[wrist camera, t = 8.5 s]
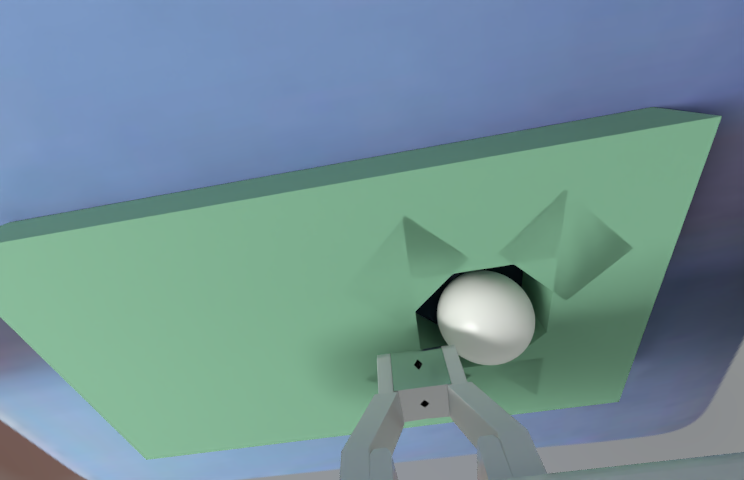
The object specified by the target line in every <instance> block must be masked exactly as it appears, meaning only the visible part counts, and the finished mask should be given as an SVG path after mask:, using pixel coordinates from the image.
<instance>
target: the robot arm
mask: <svg viewBox="0 0 744 480" xmlns="http://www.w3.org/2000/svg"><path fill="white" fill-rule="evenodd" d="M377 373H378V394H375V395H374V396H373V398H372V400H371V402H370V403H369V405H368V407H367V408H366V410H365V412H364V414H363V415H362V417H361V419H360V420H359V422H358V424H357V426H356V427H355V429H354V431H353V432H352V434H351V436H350V438H349V439H348V441H347V443H346V444H345V446H344V448H343V450H342V451H341V466H340V480H398V478H397V474H396V470H395V466H394V462H393V458H392V454H393V452H394V449H395V447H396V444H397V442H398V439H399V437H400V434H401V432H402V429H403V427H404V422H409V421H416V420H422V419H430V418H441V417H450V418H451V419H452V420H453V422H454V423H455V424H456V425H457V426H458V427H459V429H460V430H461V431H462V432H463V433H464V434H465V436H466V437H467V438H468V439H469V440H470V442H471V443H472V444H473V445H474V446H475V447H476V449H477V479H478V480H744V452H741V453H732V454H723V455H713V456H704V457H695V458H687V459H677V460H669V461H660V462H650V463H641V464H632V465H624V466H615V467H605V468H596V469H587V470H578V471H569V472H560V473H551V474H547V472H546V470H545V467H544V465H543V463H542V461H541V459H540V457H539V455H538V453H537V450H536V448H535V446H534V443H533V441H532V439H531V437H530V435H529V432H528V430H527V429H526V428H525V427H524V426H522V425H521V424H520V423H519V422H518V421H517V420H515V419H514V418H513V417H512V416H511V415H510V414H508V413H507V412H506V411H505V410H504V409H503V408H501V407H500V406H499V405H498V404H497V403H496V402H494V401H493V400H492V399H491V398H490V397H489V396H487V395H486V394H485V393H484V392H483V391H482V390H480V389H479V388H478V387H477V386H476V385H475V384H473V383H472V382H467V379H466V376H465V373H464V370H463V367H462V364H461V361H460V358H459V355H458V352H457V349H456V347H455V345H448V346H441V347H440V346H439V347H432V348H426V349H419V350H415V351H407V352H398V353H390V354H381V355H377Z"/></svg>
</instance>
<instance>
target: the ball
mask: <svg viewBox="0 0 744 480" xmlns="http://www.w3.org/2000/svg"><path fill="white" fill-rule="evenodd" d="M437 321H438V326H439V329H440V332H441V334H442V336H443V338H444V340H445V341H446V343H447V344H448V345H455V347H456V349H457V352H458V355H460V356H461V357H463V358H464V359H466V360H468V361H470V362H473V363H476V364H481V365H499V364H504V363H507V362H509V361H511V360H513V359H515V358H517V357H518V356H519V355H520V354H522V353H523V352H524V350H525V349H526V348H527V347H528V345H529V344H530V342H531V340H532V337H533V334H534V330H535V313H534V309H533V306H532V304H531V301H530V299H529V298H528V296H527V294H526V293H525V291H524V290H523V289H522V288H521V287H520V286H519V285H518V284H517V283H516V282H514V281H513V280H512V279H510V278H508V277H507V276H505V275H502V274H500V273H497V272H493V271H487V270H477V271H471V272H467V273H464V274H462V275H460V276H458V277H457V278H455V279H454V280H452V281H451V282H450V283H449V284H448V285H447V286H446V288H445V289H444V291H443V292H442V294H441V296H440V299H439V302H438V306H437Z"/></svg>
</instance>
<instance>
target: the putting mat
mask: <svg viewBox="0 0 744 480" xmlns="http://www.w3.org/2000/svg"><path fill="white" fill-rule="evenodd" d="M721 117H722V116H718V115H710V114H702V113H694V112H686V111H679V110H671V109H663V108H655V107H650V108H645V109H639V110H634V111H628V112H623V113H617V114H611V115H606V116H600V117H595V118H589V119H584V120H578V121H572V122H567V123H561V124H556V125H550V126H545V127H539V128H533V129H528V130H522V131H517V132H511V133H506V134H500V135H494V136H489V137H483V138H478V139H472V140H467V141H461V142H455V143H450V144H444V145H439V146H433V147H428V148H422V149H416V150H411V151H405V152H400V153H394V154H389V155H383V156H377V157H372V158H366V159H361V160H355V161H350V162H344V163H338V164H333V165H327V166H322V167H316V168H311V169H305V170H299V171H294V172H288V173H283V174H277V175H271V176H266V177H260V178H255V179H249V180H244V181H238V182H232V183H227V184H221V185H216V186H210V187H205V188H199V189H193V190H188V191H182V192H177V193H171V194H166V195H160V196H154V197H149V198H143V199H138V200H132V201H127V202H121V203H115V204H110V205H104V206H99V207H93V208H88V209H82V210H76V211H71V212H65V213H60V214H54V215H49V216H43V217H37V218H32V219H26V220H21V221H15V222H10V223H7V224H4V225H2V226H0V317H1V318H2V319H3V320H4V321H5V322H6V323H7V324H8V325H9V326H10V327H11V328H12V329H13V330H14V331H15V332H16V333H17V334H18V335H19V336H20V337H21V338H22V339H23V340H24V341H25V342H27V343H28V344H29V345H30V346H31V347H32V348H33V349H34V350H35V351H36V352H37V353H38V354H39V355H40V356H41V357H42V358H43V359H44V360H45V361H46V362H47V363H48V364H49V365H50V366H51V367H52V368H53V369H54V370H55V371H56V372H57V373H58V374H59V375H60V376H61V377H62V378H63V379H64V380H65V381H66V382H67V383H68V384H69V385H70V386H72V387H73V388H74V389H75V390H76V391H77V392H78V393H79V394H80V395H81V396H82V397H83V398H84V399H85V400H86V401H87V402H88V403H89V404H90V405H91V406H92V407H93V408H94V409H95V410H96V411H97V412H98V413H99V414H100V415H101V416H102V417H103V418H104V419H105V420H106V421H107V422H108V423H109V424H110V425H111V426H112V427H113V428H114V429H115V430H117V431H118V432H119V433H120V434H121V435H122V436H123V437H124V438H125V439H126V440H127V441H128V442H129V443H130V444H131V445H132V446H133V447H134V448H135V449H136V450H137V451H138V452H139V453H140V454H141V455H142V456H143V457H144V458H145V459H146V460H148V459H156V458H164V457H173V456H181V455H189V454H197V453H205V452H213V451H221V450H230V449H238V448H246V447H254V446H262V445H270V444H278V443H287V442H295V441H303V440H311V439H319V438H327V437H335V436H344V435H351V434H352V432H353V431H354V429H355V427H356V426H357V424H358V422H359V420H360V419H361V417H362V415H363V414H364V412H365V410H366V408H367V407H368V405H369V403H370V402H371V400H372V398H373V396H374V395H375V394H378V373H377V355H381V354H390V353H398V352H407V351H415V350H419V349H426V348H432V347H439V346H440V347H441V346H448V344H447V343H446V341H445V340H444V338H443V336H442V334H441V332H440V329H439V326H438V325H437V324H435V323H433V322H432V321H430V320H428V319H426V318H424V317H423V316H421V315H419V314H417V313H415V311H416V310H417V309H418V308H419V307H420V306H421V305H422V304H423V303H424V302H425V301H426V300H427V299H428V298H429V297H430V296H431V295H432V294H433V293H434V292H435V291H436V290H437V289H438V288H439V287H440V286H441V285H442V284H443V283H444V282H445V281H446V280H447V279H448V278H449V277H450V276H451V275H452V274H454V273H461V272H467V271H474V270H481V269H487V268H494V267H500V266H507V265H513V264H514V265H515V266H517V267H518V268H520V269H521V270H523V276H522V289H523V290H524V291H525V293H526V294H527V296H528V298H529V299H530V301H531V304H532V306H533V309H534V313H535V330H534V334H533V337H532V340H531V342H530V344H529V345H528V347H527V348H526V349H525V350H524V352H523V353H522V354H520V355H519V356H518V357H517V358H515V359H513V360H511V361H509V362H507V363H504V364H499V365H481V364H476V363H473V362H470V361H468V360H466V359H464V358H463V357H461V356H460V355H459V358H460V361H461V364H462V367H463V370H464V373H465V376H466V379H467V382H472V383H473V384H475V385H476V386H477V387H478V388H479V389H480V390H482V391H483V392H484V393H485V394H486V395H487V396H489V397H490V398H491V399H492V400H493V401H494V402H496V403H497V404H498V405H499V406H500V407H501V408H503V409H504V410H505V411H506V412H507V413H508V414H510V415H514V414H523V413H531V412H539V411H547V410H555V409H563V408H571V407H580V406H588V405H596V404H604V403H612V402H619V400H620V397H621V394H622V391H623V389H624V386H625V383H626V380H627V378H628V375H629V372H630V369H631V366H632V364H633V361H634V358H635V355H636V353H637V350H638V347H639V344H640V342H641V339H642V336H643V333H644V330H645V328H646V325H647V322H648V319H649V317H650V314H651V311H652V308H653V306H654V303H655V300H656V297H657V295H658V292H659V289H660V286H661V283H662V281H663V278H664V275H665V272H666V270H667V267H668V264H669V261H670V259H671V256H672V253H673V250H674V247H675V245H676V242H677V239H678V236H679V234H680V231H681V228H682V225H683V223H684V220H685V217H686V214H687V211H688V209H689V206H690V203H691V200H692V198H693V195H694V192H695V189H696V187H697V184H698V181H699V178H700V175H701V173H702V170H703V167H704V164H705V162H706V159H707V156H708V153H709V151H710V148H711V145H712V142H713V139H714V137H715V134H716V131H717V128H718V126H719V123H720V120H721ZM449 422H453V420H452V419H451V418H450V417H441V418H430V419H422V420H416V421H409V422H404V427H403V428H409V427H417V426H425V425H433V424H441V423H449Z"/></svg>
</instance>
